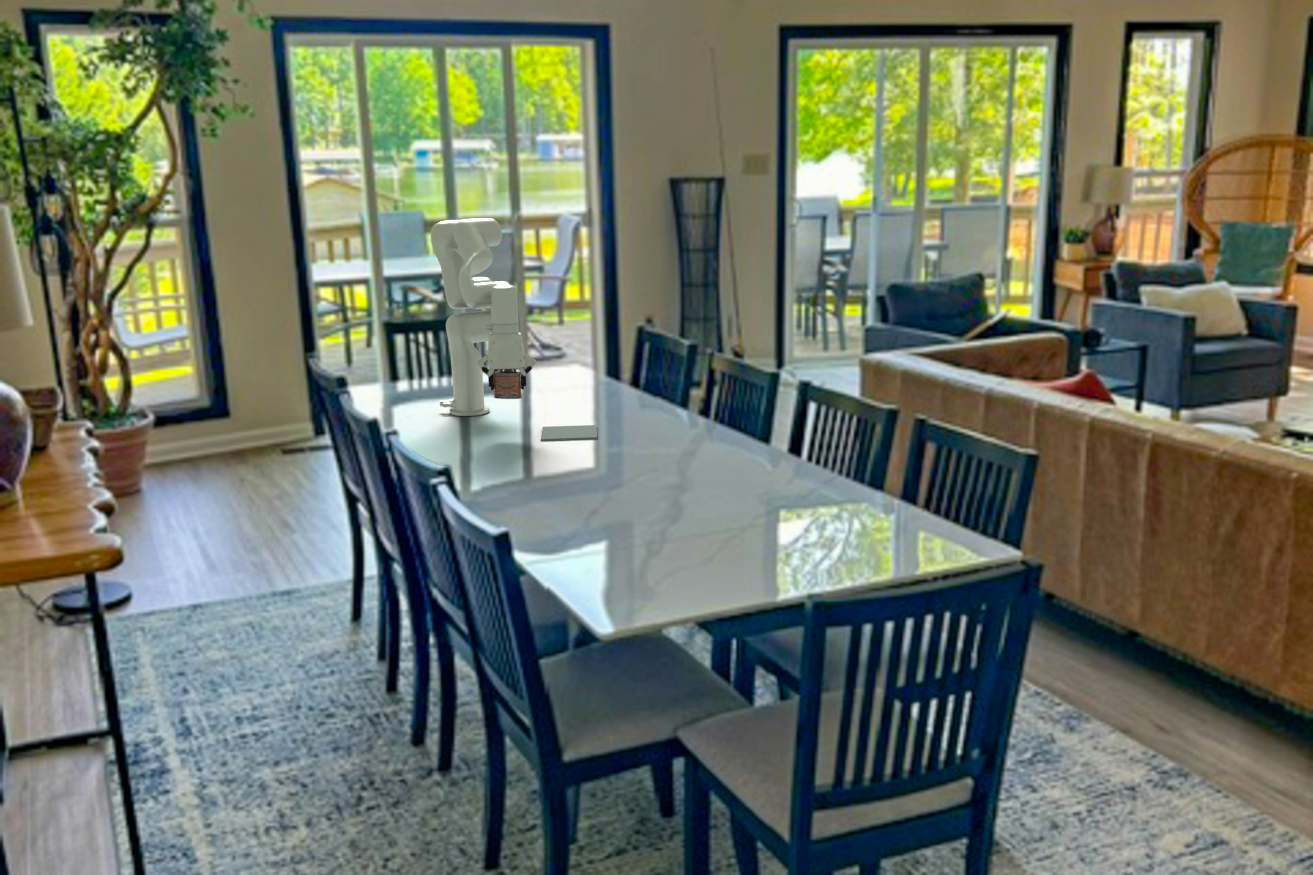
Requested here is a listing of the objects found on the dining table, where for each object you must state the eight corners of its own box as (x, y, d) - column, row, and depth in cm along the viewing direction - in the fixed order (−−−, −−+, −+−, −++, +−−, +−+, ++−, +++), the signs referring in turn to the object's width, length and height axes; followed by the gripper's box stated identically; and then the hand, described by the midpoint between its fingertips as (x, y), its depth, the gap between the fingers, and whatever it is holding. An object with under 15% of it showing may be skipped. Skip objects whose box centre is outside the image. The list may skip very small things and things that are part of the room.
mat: (540, 441, 321) (540, 439, 321) (542, 428, 335) (542, 426, 335) (597, 439, 322) (597, 437, 322) (596, 426, 336) (596, 425, 336)
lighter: (523, 396, 328) (521, 362, 325) (520, 399, 325) (519, 365, 322) (495, 396, 329) (494, 362, 326) (493, 398, 325) (491, 364, 323)
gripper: (473, 331, 317) (476, 392, 322) (535, 330, 318) (537, 391, 323) (475, 327, 324) (478, 386, 329) (536, 326, 325) (538, 385, 330)
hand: (507, 388), depth 326 cm, fingers closed on lighter, 8 cm apart
